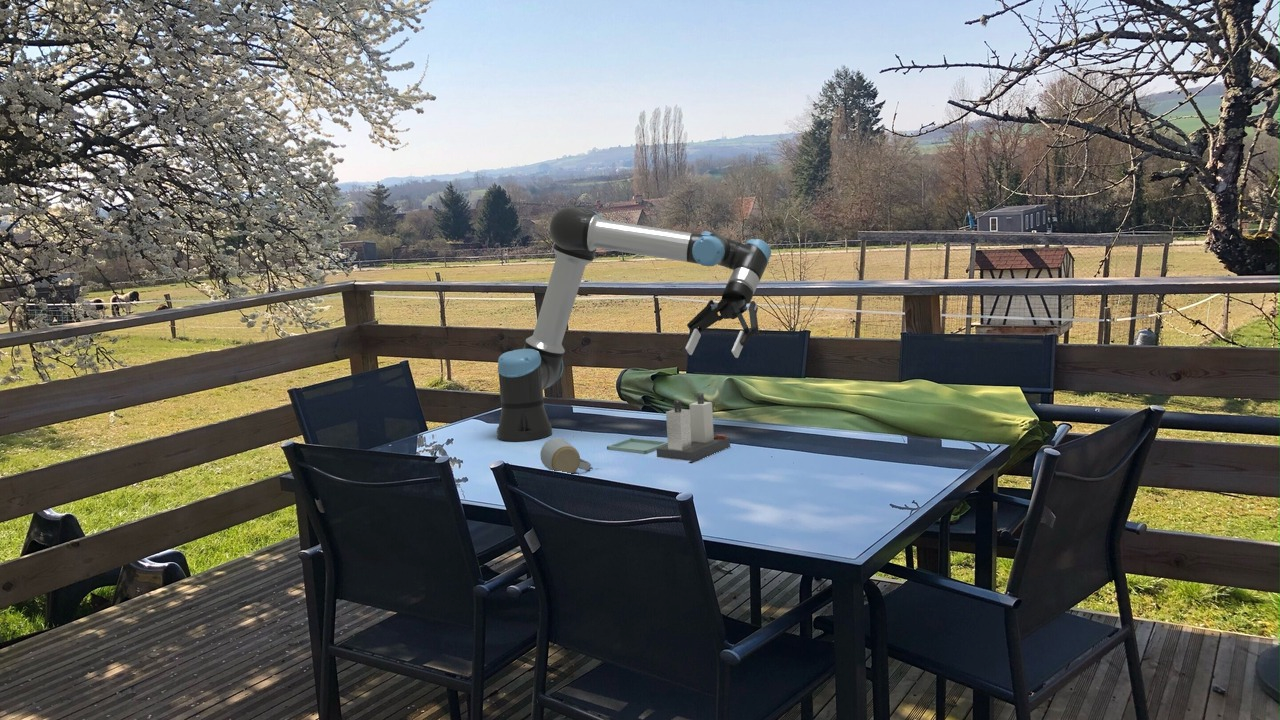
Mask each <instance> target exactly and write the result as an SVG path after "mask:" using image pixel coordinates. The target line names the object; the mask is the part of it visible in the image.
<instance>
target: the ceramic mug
mask: <svg viewBox="0 0 1280 720" xmlns="http://www.w3.org/2000/svg"><path fill="white" fill-rule="evenodd" d="M540 460H541V463H542V464H543V466H544V467H545V468H547V469H548V470H550V471H551V470H554V471H562V472H567V473H573V474H574V473H575V472H577V470H578V469H580V470H584V471H589V470H590V468H591V465H592V464H591V462H589V461H587V460H585V459H582V458H581V455H580V453H579V451H578V449H576V447H574V445H572V444H570V443H569V442H568V441H567V440H565V439H564V438H561V437H553V438H550V439H548V440H547V441H545V442H544V444H543V445H542V447H541V450H540Z"/></svg>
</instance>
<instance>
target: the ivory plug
mask: <svg viewBox="0 0 1280 720" xmlns="http://www.w3.org/2000/svg"><path fill="white" fill-rule="evenodd" d="M696 395H697V396H696V401H695V402H693V403H689V405H688V407H689V410H690V426H691V441H693V442H702V443H707V442H710V441H712V440H714V436H715V435H714V434H715V433H714V414H713V412H714V411H713V402H711V401H705V395H704V393H703V392H698V393H696Z"/></svg>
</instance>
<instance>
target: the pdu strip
mask: <svg viewBox="0 0 1280 720" xmlns="http://www.w3.org/2000/svg"><path fill="white" fill-rule="evenodd" d="M673 407H674V409H671V410H668V411H666V412H665V416H666V419H665V420H666V435H667V442H668V445H665V446H662V447H660V448H657V450H656V457H657V458H664V459H665V458H667V459H672V460H673V459H674V460H681V461H682V460H683V461H688V463H689V464H694V463H696V462H699V461H702V460H703V458H704V459H706V458H708V457H711V456H713V455H715V454H717V453H716V452H718V453H720V452H722V451H721V450H723V449H725V448H727V449H729V448H728V447H730V448H731V442H730V441H731V440H730V439H731V438H730V437H729V436H727V435H726V434H722V433H721V434H719V433H718V434H715V435H714V440H712V441H710V442H707V443H702V442H693V441H691V425H690V409H683V408H682V400H680V399H678V400H676V399H675V400H673ZM725 450H726V449H725ZM719 451H720V452H719ZM723 451H724V450H723ZM714 453H715V454H714ZM712 454H713V455H712ZM710 455H711V456H710ZM707 456H708V457H707ZM705 457H706V458H705Z"/></svg>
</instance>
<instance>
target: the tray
mask: <svg viewBox="0 0 1280 720" xmlns="http://www.w3.org/2000/svg"><path fill="white" fill-rule="evenodd" d="M665 445H668V441H665V440H664V441H663V440H656V439H655V440H654V439H653V440H652V439H644V438H635V437H634V438H633V437H630V438H626V439H624V440H621V441H618V442H616V443H612V444H609V445H607V446H606V450H608V451H615V452H624V453H632V454H640V455H641V454H642V455H647V454H650V453H653V452H657V448H660V447H662V446H665Z"/></svg>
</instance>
